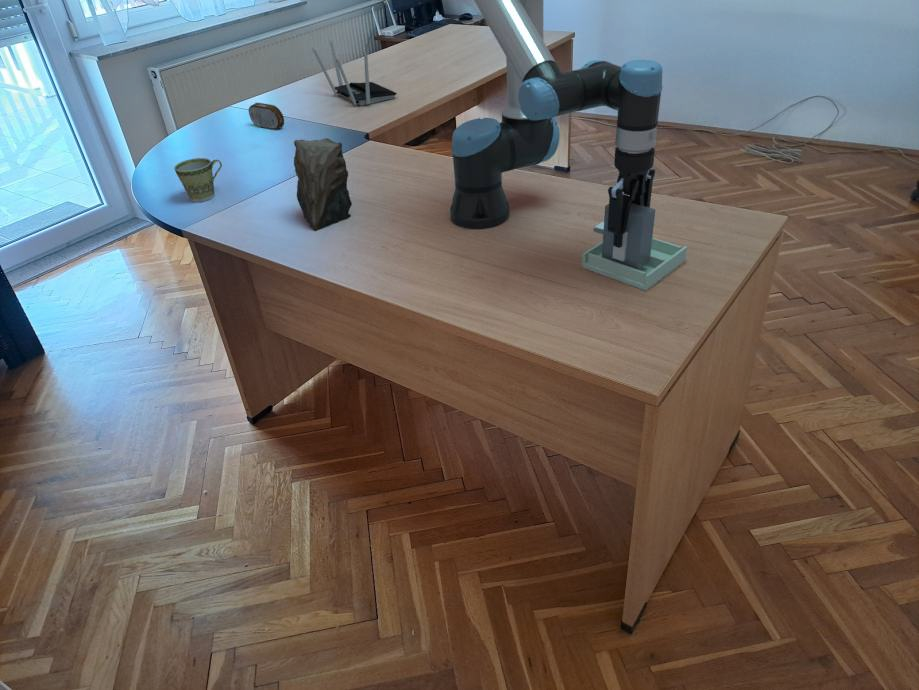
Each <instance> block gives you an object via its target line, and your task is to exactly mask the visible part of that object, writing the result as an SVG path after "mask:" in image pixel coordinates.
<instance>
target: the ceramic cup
mask: <svg viewBox="0 0 919 690" xmlns="http://www.w3.org/2000/svg"><path fill="white" fill-rule="evenodd" d="M215 163H219V165H220V166H219V168H217V170H216V171H215V173H213V168H214V165H215ZM222 165H223V164H222V162H221V160H218V159H214V160H211V159H209V158H206V157H195V158H189V159H186V160H182V161H180V162H178V163H177V164H175V165H174V168H173V169H174V171H175V173H176V175H177V177H178V180H179V181H180V182H181V185H182V186H183V188H184V190H185V192H186V194H187V196H188V198H189V200H190V201H192V202H193V203H205V202H208V201H211V200H212V199H213V198H214V197H215V195H216V194H215V187H214V186H215V184H214V180H215V179H216V177H217V175H218V173H219V171H221V169H222V167H223V166H222Z"/></svg>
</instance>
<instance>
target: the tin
mask: <svg viewBox="0 0 919 690" xmlns="http://www.w3.org/2000/svg"><path fill="white" fill-rule="evenodd" d="M248 115H249V118H250V120H251V122H252V123H253V124H254V125H255V126H257V127H258V128H262V129H268V130H274V131H276V130H279V129H281V128H283V127H284V124H285V118H284V114H283V113H282V111H281V110H280V108H278V106H276V105H275V104H270V103H263V102H254V103H253V104H251V105H250V106H249V108H248Z"/></svg>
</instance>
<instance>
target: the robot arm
mask: <svg viewBox="0 0 919 690" xmlns="http://www.w3.org/2000/svg"><path fill="white" fill-rule="evenodd" d="M473 1H474V3H475V5H476V6H477V8H478V9H479V12H480V13H481V15H482V16H483V19H484V20H485V22H486V24H487V25H488V27H489V29H490V31H491V32H492V34H493V36H494V38H495V39H496V41H497V43H498V45H499V47H500V49H502V52H503V53H504V55H505V59H506V88H507V91H506V92H507V93H506V96H507V98H506V99H507V104H506V105H505V106H504V107H503V109H502V110H501V122H499V121H498V119H495V118H492V117H483V118H479V117H478V118H474V119H471V120H468V121H467V120H466V121H465V122H463V123H461V124H460V125H458V126H457V127H456V128H455V129H454V131H453V133H452V138H451V141H452V143H451V153H452V160H453V161H452V162H453V175H454V187H455V188H454V192H453V193H454V194H453V197H452V202H451V205H450V209H449V214H450V215H449V216H450V221H451V222H453V224H455V225H457V226H459V227H462V228H466V229H475V230H476V229H479V230H480V229H487V228H492V227H496V226H499V225H501V224H503V223H505V222H506V221H507V220H508V219H509V218H510V215H511V214H510V204H509V202H508V200H507V197H506V194H505V191H504V188H503V181H502V180H503V179H502V177H503V176H502V174H503V173H505V172H510V171H514V170H516V169H522V168H526V167H529V166H537V165H539V164H542V163H544V162H547V161H548V160H550V159H551V158H552V157H553V156H554V155H555V154H556V153H557V150H558V147H559V144H560V127H559V126H558V121H557V119H556V117H559V116H564V115H567V114H571V113H576V112H581V111H585V110H590V109H594V108H599V107H607V108H610V109H613V110H615V111H617V120H616V131H615V132H616V134H615V146H616V147H615V150H614V160H613V165H614V167H615V168H616V169H617V171H618V177H617V178H616V179H617V180H616V184H615V185H614V186H609V187H608V189H607V192H608V204H609V213H608V229H607V230H608V231H609V232H612V233H614V241H613V257H612V258H615V259H618V260H620V261H625V259H626V247H627V236H628V232H626V226H627V221H628V216H629V212H630V207H631V203H634V204H637V205H642V206H645V207H649V208H651V199H652V191H653V184H654V178H655V174H656V169H653V166H654V163H655V162H654V161H655V154H656V150H655V148H654V147H655V146H656V141H657V138H658V134H657V133H658V132H657V130H658V124H659V123H658V121H659V115H660V107H661V95H662V91H663V66H662V65H661V64H660V63H659V62H658V61H655V60H651V59H649V60H646V59H633V60H629V61H626V62H624V63H623V64H622V66H619V65H617V64H614V63H612V62H610V61H607V60H599V59H594V60H589V61H588V62H586V63H585V64H584V65H583V66H582V67H580V68H579V69H573V70H568V71H564V72H563V71H562V69H561V68H560V66H559V65H558V64H557V62H556V60H555V58H554V57H553V55H552V53H551V51H550V50H549V47H548V45H546V43H545V41H544V0H473Z"/></svg>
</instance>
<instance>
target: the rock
mask: <svg viewBox="0 0 919 690" xmlns="http://www.w3.org/2000/svg"><path fill="white" fill-rule="evenodd" d="M293 144H294V147H295V152H294V157H293V166H294V172H295V174H296V176H297V177H296V178H298V179H297V185H296V189H297V190H296V200H297V203H298V204H299V207H300V209H301V212H302V214H303V218H304V219H305V220H306V222H307V223H308V224H309V226H310V228H311V229H313V231H315V232H317V231H319V230H323V229H324V228H327V227H329V226H332V225H334V224H338V223H339V222H342V221H345V220H347V219H348V220H349V218H350V217H351V215H352V214H351V213H350V209H351V207H352V206H353V203H352V200H351V198H350V192H349V189H348V179H349V178H348V177H349V171H348V170H347V164H346V163H347V162H346V159H345V158H344V154H343V143H342V142H336V141H333V140H332V139H330V138H325V137H324V138H322V139H313V140H306V139H295V140H294V141H293Z"/></svg>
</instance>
